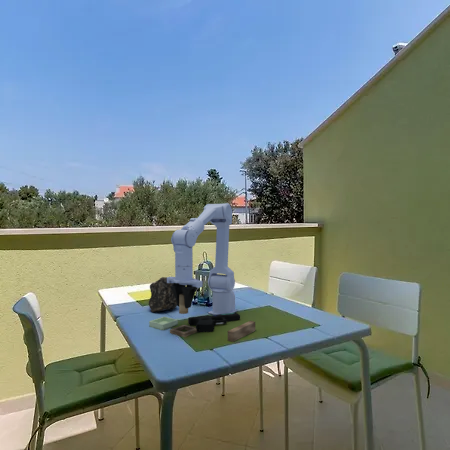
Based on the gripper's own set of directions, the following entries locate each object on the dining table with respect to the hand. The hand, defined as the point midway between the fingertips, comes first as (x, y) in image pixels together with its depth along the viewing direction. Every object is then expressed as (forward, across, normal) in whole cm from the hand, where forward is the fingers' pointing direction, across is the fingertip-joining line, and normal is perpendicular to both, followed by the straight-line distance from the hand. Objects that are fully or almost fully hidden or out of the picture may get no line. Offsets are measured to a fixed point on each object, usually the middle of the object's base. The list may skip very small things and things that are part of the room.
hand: (184, 306), depth 104 cm
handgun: (+9, +5, +13) cm, 16 cm away
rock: (+9, -27, +15) cm, 32 cm away
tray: (+8, -10, 0) cm, 14 cm away
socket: (+8, 0, 0) cm, 9 cm away
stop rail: (+8, +17, +9) cm, 21 cm away
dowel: (+2, 0, 0) cm, 2 cm away
